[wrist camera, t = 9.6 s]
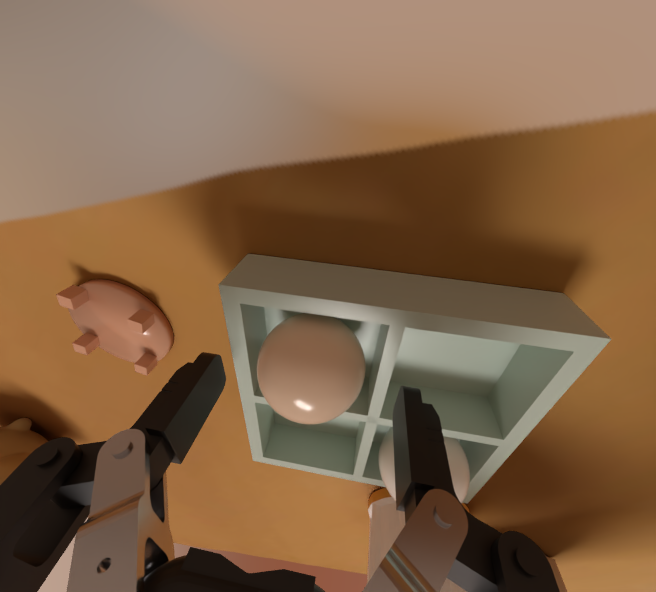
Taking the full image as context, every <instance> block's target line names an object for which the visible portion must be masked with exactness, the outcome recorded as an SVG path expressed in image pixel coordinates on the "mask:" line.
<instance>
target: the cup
mask: <svg viewBox="0 0 656 592" xmlns="http://www.w3.org/2000/svg"><path fill="white" fill-rule="evenodd" d="M462 505H463V507H464V508H465V509H466V510H467V511H468V512H469V508H468V507H467V506H466V505H465V504H464V503H462ZM368 512H369V516H370V533H369V555H368V577H367V578H368V579H367V583H368V582H369V580H370V579H371V577H372V576H373V574H374V573H375V571H376V569H377V568H378V566H379V565H380V563H381V562H382V560H383V559H384V557H385V555H386V554H387V552H388V551H389V549H390V548H391V546H392V545H393V543H394V542H395V540H396V539H397V537H398V535H399V534H400V532H401V531H402V529H403V528H404V526H405V512H403V511H398V510H396V501H395V500H394V499H393V497H392V496H391V495H390V493H389V492H388V490H387V488H386V487H385V488H382V489H379V490H377V491H375V492H373V493H372V495H371V496H370V498H369V500H368ZM469 513H470V512H469ZM440 592H467V591H465V590H464V589H462V588H461V587H459V586H458V585H456V584H455V583H453V582H452V581H451V580H449V579H448V578H446V580H445V582H444V584H443V586H442V588H441V590H440Z"/></svg>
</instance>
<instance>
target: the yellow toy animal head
mask: <svg viewBox="0 0 656 592" xmlns="http://www.w3.org/2000/svg"><path fill="white" fill-rule="evenodd" d="M31 425H32V422H31V420H30V419H28V418H21V419H18V420H16V421H14V422H12V423H11V424H9V425H8V426H5V427H0V485H1V484H2V483H3V482H4V481H5V480H6V479H7V477H8V476H9V475H10V474H11V473H12V472H13V471H14V470H15V469H16V468H17V467H18V466H19V465H20V464H21V463H22V462H23V461H24V460H25V459H26V458H27V457H28V456H29V455H30V454H31V453H32V452H33V451H34V450H35V449H37V448H38V447H40V446H41V445H43V444H45V443H46V442H48V441H47V440H46V439H45V438H44V437H43V436H41V435H40V434H38V433H36V432H33V431H31V430H30V427H31Z"/></svg>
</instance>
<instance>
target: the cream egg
mask: <svg viewBox="0 0 656 592" xmlns="http://www.w3.org/2000/svg"><path fill="white" fill-rule="evenodd" d="M443 437H444V444H445V447H446V452H447V457H448V462H449V467H450V472H451V477H452V482H453V487H454V491H455V493H456V496H457V498H458V499H459V501H460V503H461V504H462V502H463V500H464V499H465V497H466V494H467V492H468V488H469V482H470V470H469V464H468V460H467V457H466V454H465V452H464V450H463V448H462V446H461V444H460V443H459V441H458V440H457V439H456V438H451V437H445V436H443ZM379 469H380V474H381V477H382V480H383V482H384V485H385V487H386V488H387V490H388V492H389V493H390V495H391V496H392V497H393V499H394V500H395V501H396V490H395V467H394V444H393V427H390V428H389V430H388V431H387V432H386V433H385V435H384V437H383V439H382V442H381V445H380V449H379Z"/></svg>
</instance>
